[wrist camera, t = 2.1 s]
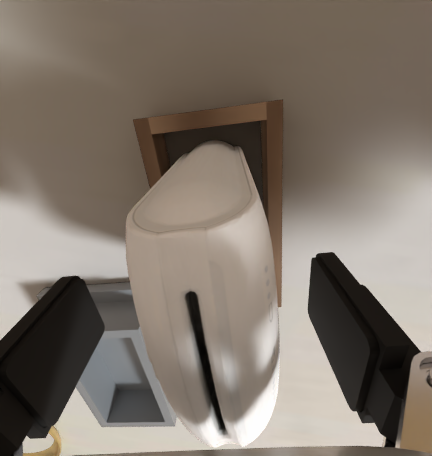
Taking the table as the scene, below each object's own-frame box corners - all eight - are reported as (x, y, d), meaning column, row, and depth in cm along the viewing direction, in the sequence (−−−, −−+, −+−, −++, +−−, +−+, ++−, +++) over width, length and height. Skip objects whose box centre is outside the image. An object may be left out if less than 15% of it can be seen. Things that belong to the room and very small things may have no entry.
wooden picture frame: (273, 101, 14) (283, 99, 11) (275, 284, 19) (281, 306, 17) (147, 118, 14) (133, 119, 12) (186, 290, 20) (181, 312, 18)
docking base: (175, 278, 20) (164, 315, 16) (202, 389, 27) (198, 432, 23) (44, 287, 21) (6, 324, 17) (103, 391, 28) (85, 433, 24)
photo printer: (255, 268, 19) (296, 489, 8) (203, 273, 19) (172, 488, 8) (245, 134, 14) (305, 207, 3) (178, 144, 15) (35, 237, 4)
